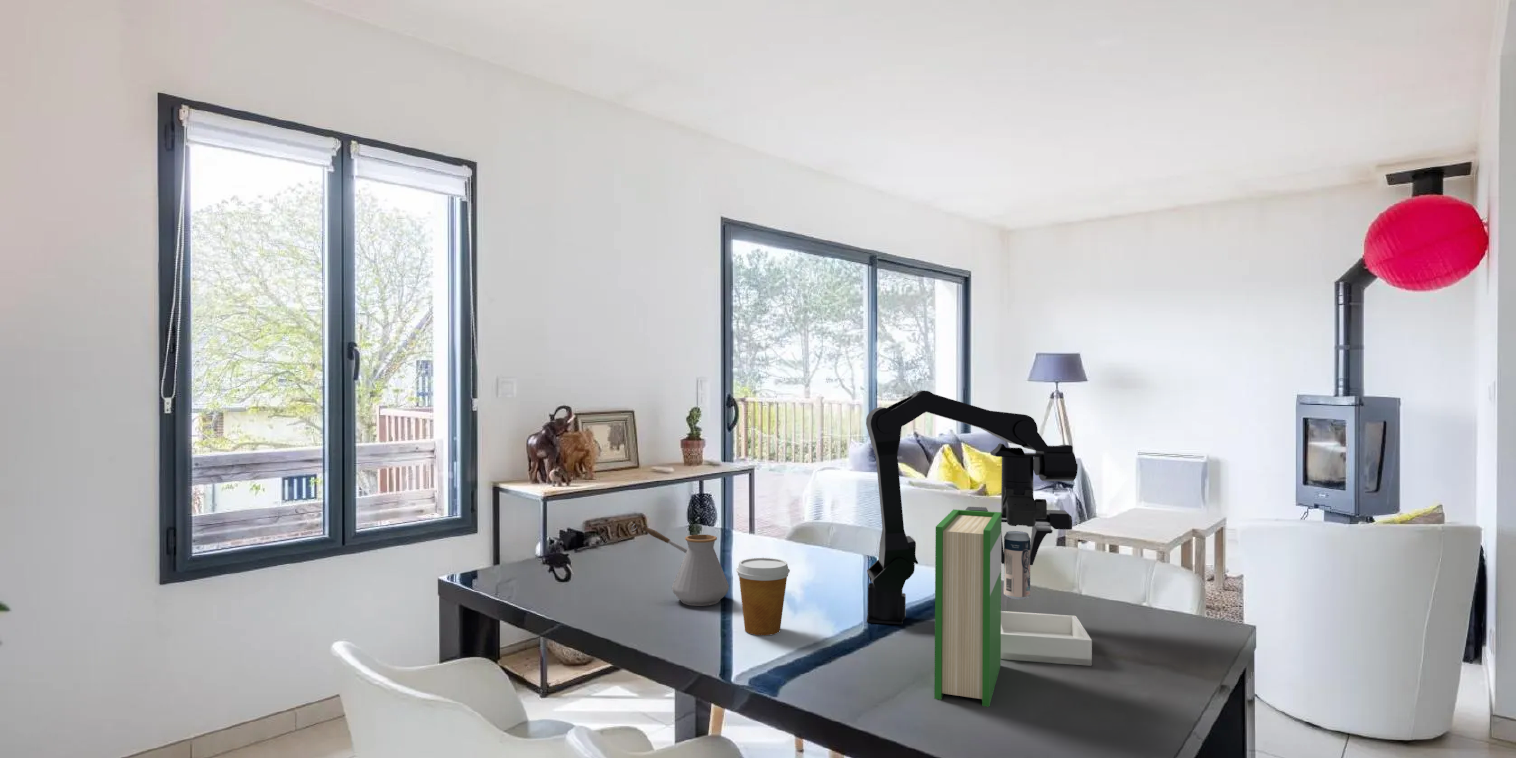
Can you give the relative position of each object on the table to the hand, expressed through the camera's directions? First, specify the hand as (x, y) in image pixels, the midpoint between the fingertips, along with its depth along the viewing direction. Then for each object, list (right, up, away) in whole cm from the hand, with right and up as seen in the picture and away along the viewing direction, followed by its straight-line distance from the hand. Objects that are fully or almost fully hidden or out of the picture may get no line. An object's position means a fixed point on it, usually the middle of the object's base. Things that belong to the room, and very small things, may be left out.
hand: (1016, 564), depth 151 cm
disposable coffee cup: (-48, -10, -7) cm, 49 cm away
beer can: (0, -6, 0) cm, 6 cm away
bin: (-1, -10, -16) cm, 19 cm away
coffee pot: (-65, -10, +14) cm, 67 cm away
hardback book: (-17, -10, -31) cm, 37 cm away
